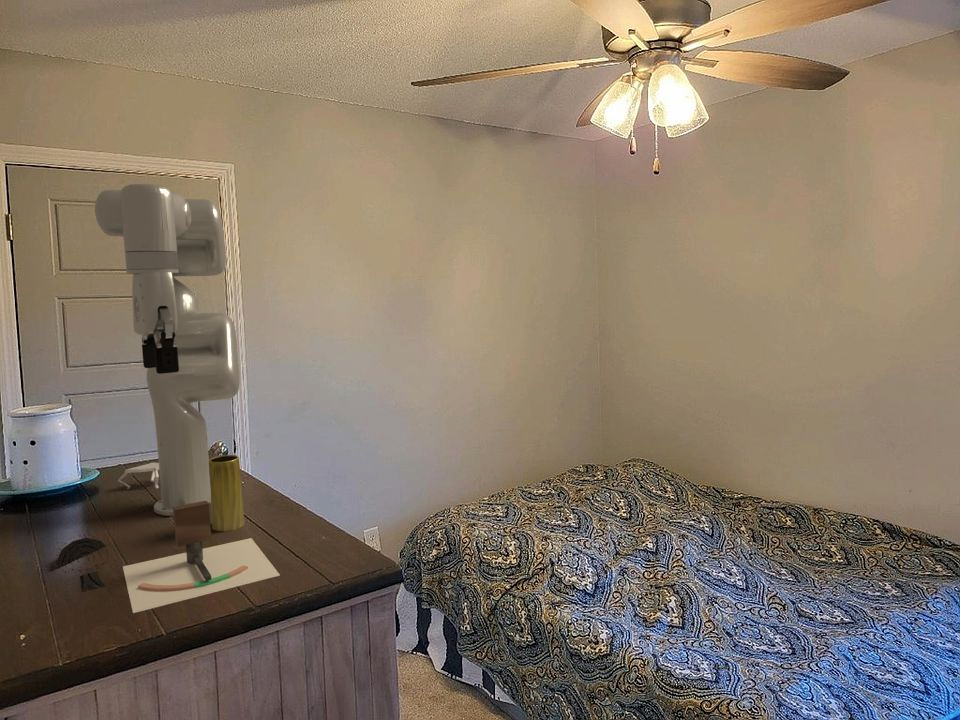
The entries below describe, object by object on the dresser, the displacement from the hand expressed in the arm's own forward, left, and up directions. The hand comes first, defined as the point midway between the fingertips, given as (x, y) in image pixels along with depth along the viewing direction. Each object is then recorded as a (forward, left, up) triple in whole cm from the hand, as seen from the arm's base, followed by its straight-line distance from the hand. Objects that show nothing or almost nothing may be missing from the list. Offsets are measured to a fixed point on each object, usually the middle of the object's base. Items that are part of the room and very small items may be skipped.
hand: (160, 369), depth 106 cm
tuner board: (+11, +2, -32) cm, 34 cm away
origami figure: (-49, +1, -33) cm, 59 cm away
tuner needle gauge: (+11, +2, -31) cm, 33 cm away
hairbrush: (0, -13, -33) cm, 35 cm away
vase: (-7, +10, -32) cm, 35 cm away
